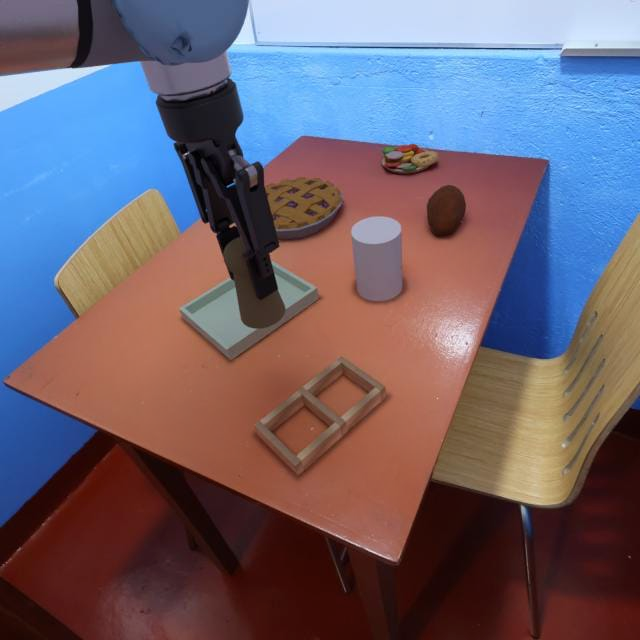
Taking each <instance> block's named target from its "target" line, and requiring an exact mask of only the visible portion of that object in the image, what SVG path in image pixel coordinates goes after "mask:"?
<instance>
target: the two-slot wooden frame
mask: <svg viewBox="0 0 640 640" xmlns="http://www.w3.org/2000/svg"><path fill="white" fill-rule="evenodd" d="M342 375H344V376H346V377H347V378H349V380H351V381H353V383H355V384H357V385H358V386H359V387H361V388H362V389H363V390H365V391H367V392H368V393H367V394H365V396H363V397H362V398H361V399H360V400H359V401H358V402H356V403H355V404H354V405H353V406H351V408H349V409H348V411H346V412H345V413H344V414H342V415H341V417H340V416H339V415H338V414H337V413H336V412H334V411H333V410H332V409H331V408H330V407H328V406H327V405H326V404H324V403H323V402H322V401H321V400H319V399H318V398H317V397H316V396H317V395H319V394H320V393H321V392H323V390H325V389H326V388H327V387H329V386H330V385H331V384H332V383H333V382H335V381H336V380H337V379H339V377H341V376H342ZM386 398H387V389H386V385H384V384H383V383H381V382H380V381H378V380H377V379H376V378H374V377H373V376H371V375H370V374H368V373H367V372H366V371H364V370H362V369H361V368H360V367H358V366H357V365H355V364H354V363H352V362H351V361H350V360H349V359H347V358H346V357H344V356H343V355H341V356H339V357H338V358H336V360H334V361H333V362H331V364H329V365H328V366H326V368H324V369H323V370H321V371H320V372H319V373H318V374H316V376H314V377H313V378H312V379H310V380H309V381H308V382H307V383H306V384H303V386H301V387H300V388H298V390H297V391H295V392H294V393H293V394H291V395H290V396H289V397H288V398H286V399H284V400H283V401H282V402H281V403H280V404H279V405H278V406H276V407H275V408H274V409H273V410H271V411H270V412H269V413H267V414H266V415H264V417H263V418H261V419H259V420H258V421H257V422H256V423H255V424H254V425H253V427H254V429H255V432H256V435H257V436H258V437H259V438H260V440H262V441H263V442H264V443H265V445H267V446H268V448H269V449H270V450H272V451H273V452H274V453H275V454H276V456H278V457H279V458H280V459H281V460H282V461H283V462H284V463H285V465H287V466H288V467H289V468H290V469H291V470H292V471H293V472H294V473H295V474H296V475H297V476H298V477H299V476H300V475H301V474H302V473H303V472H304V471H306V470H307V469H308V468H309V467H310V466H311V465H312V464H314V463H315V462H316V461H317V460H318V459H320V457H321V456H323V455H324V454H325V453H326V452H327V451H328V450H330V449H331V447H333V446H334V445H335V444H336V443H337V442H339V440H340V439H342V438H343V437H344V436H345V435H346V434H347V433H348V432H349V431H351V429H353V428H354V427H355V426H356V425H357V424H359V423H360V421H362V419H364V418H365V417H366V416H367V415H368V414H369V413H370V412H372V411H373V410H374V409H375V408H376V407H377V406H379V404H381V403H382V402H383V401H384V400H385V399H386ZM304 406H305V407H306V408H307V409H309V410H310V411H311V412H312V413H313V414H315V416H316V417H318V418H319V419H321V420H322V421H323V422H324V423H325V424H326V425H327V426H328V428H326V429H325V430H324V431H322V433H321V434H319V435H318V436H317V437H316V438H315V439H314V440H312V442H310V443H309V444H308V445H306V447H305V448H303V449H302V450H301V451H300V452H299V453H298V454H297V455H296V454H295V453H294V452H293V451H292V450H290V448H289V447H287V446H286V445H285V444H284V443H283V442H282V441H281V440H280V439H279V438H278V437H277V436H276V435H275V434H274V433H273V431H275V430H276V429H277V428H279V426H281V425H282V424H283V423H284V422H286V421H287V420H288V419H290V418H291V417H292V416H293V415H294V414H296V413H297V412H298V411H299V410H300V409H302V408H303V407H304Z"/></svg>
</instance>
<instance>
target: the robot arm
mask: <svg viewBox="0 0 640 640" xmlns="http://www.w3.org/2000/svg"><path fill="white" fill-rule="evenodd" d="M249 3H250V0H0V77H8V76H13V75H14V76H15V75H16V76H17V75H24V74H32V73H40V72H48V71H49V72H50V71H56V70H64V69H74V70H75V69H85V68H93V67H102V66H111V65H119V64H128V63H135V62H137V63H138V62H139V64H140V66H141V69H142V72H143V74H144V77H145V80H146V82H147V86H148V88H149V91H150V92H152V93H153V94H155V95H157V97H156V99H155V106H156V108H157V110H158V111H157V112H158V113H159V116H160V119H161V121H162V124H163V128H164V130H165V133H166V135H167V137H168V138H169V139H170V140H172V141H174V142H173V149H174V150H175V152H176V154H177V157H178V158H179V160H180V162H181V165H182V167H183V170H184V173H185V177H186V179H187V183H188V185H189V188H190V190H191V193H192V196H193V199H194V202H195V205H196V208H197V210H198V214H199V217H200V219H201V222H202V223H203V224H205V225H207V224H208V223H209V229H210V230H211V232H212V233H213V234H216V235H215V237H216V240H217V243H218V246H219V250H220V253H221V255H222V258H223V259H224V255H223V252H224V249H225V247H226V245H227V244H228V243H229V242H231V241H232V240H234V239H236V238H238V237H241V238H242V240H243V243H244V245H245V247H246V250H247V252H246V253H244V254H242V256H243V258H244V259H245V260H246V263H247V266H248V270H249V273H250V276H251V280H252V283H253V286H254V289H255V293H256V296H257V298H258V299H259V300H262V299H264V298H265V297H267V296H269V295H270V294H272V293H273V292H275V291H276V290H278V286H277V282H276V278H275V274H274V270H273V267H272V263H271V261H272V259H271V256H270V254H271V253H273V252H275V251H276V250H277V249H279V248H280V242H279V238H278V237H277V233H276V229H275V225H274V221H273V217H272V213H271V210H270V206H269V202H268V198H267V194H266V190H265V189H266V186H265V169H264V166H263V164H262V163H261V162H260V161H258V160H257V161H255V162H252V163H250V162H248V160H246V159H245V158H244V153H243V149H242V147H241V145H240V144H239V141H238V139H237V136H236V134H237V131H238V129H239V127H241V125H242V124H243V121H244V118H245V117H244V111H243V107H242V102H241V99H240V95H239V92H238V87H237V83H236V82H235V81H234V80H233V79H232V78H230V77H231V75H232V73H233V69H232V66H231V65H232V64H231V61H230V58H229V54H228V49H230V48H231V46H232V45H233V44H234V43H235V42H236V40H237V39H238V37H239V35H240V33H241V31H242V29H243V27H244V25H245V21H246V19H247V15H248V9H249ZM234 224H235V225H234ZM232 225H233V226H232ZM225 267H226V269H227V270H226V271H227V272H228V275H229V278H231V279H232V280H233V281H234V276H233V273H232V272H231V271H230V270H229V269H228V268H227V266H226V265H225Z"/></svg>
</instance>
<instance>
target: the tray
mask: <svg viewBox="0 0 640 640" xmlns="http://www.w3.org/2000/svg"><path fill="white" fill-rule="evenodd" d="M271 263H272V267H273V270H274V274H275V278H276V282H277V286H278V291H279V293H280V296H281V298H282V300H283V302H284V305H285V309H286V311H285V314H284V316H283V317H282V319H281V320H280V321H278V322H277V323H276V324H274V325H272V326H270V327H266V328H262V329H254V328H250V327H247V326H246V325H244V324H243V322H242V321H241V317H240V311H239V305H238V299H237V294H236V288H235V282H234V281H233V280H232V279H231V278H230V277H228V278H227V279H225V280H223V281H222V282H220V283H218V284H217V285H215V286H213V287H212V288H210V289H208V290H207V291H205V292H204V293H201V294H200V295H198V296H197V297H195V298H194V299H192V300H190V301H188V302H187V303H185V304H184V305H182V306H180V307H179V308H178V309H179V313H180V314H181V316H182V319H183V321H185V322H187V324H189V325H190V326H191V327H192V328H193V329H194V330H195V331H197V333H198V334H200V335H201V336H202V337H204V339H206V340H207V341H208V342H209V343H210V344H211V345H212V346H213V347H215V348H216V350H218V351H219V352H221V354H223V355H224V357H226V358H227V359H228V360H229V361H232V360H234V359H236V358H237V357H238V356H239V355H241V354H242V353H244V352H245V351H247V350H248V349H250V348H251V347H252V346H254V345H255V344H257V343H258V342H260V341H261V340H262V339H264V338H265V337H266V336H268V335H270V334H271V333H272V332H274V331H275V330H276V329H278V328H279V327H281V326H282V325H284V324H285V323H287V322H289V320H291V319H292V318H294V317H295V316H296V315H298V314H299V313H301V312H303V311H304V310H305V309H306V308H308V307H309V306H311V305H312V304H314V303H315V302H317V301H318V300H320V296H319V291H318V290H319V289H318V287H317V286H315V285H313V284H312V283H310V282H308V281H307V280H305V279H303V278H301V277H300V276H298V275H296V274H295V273H294V272H291V271H290V270H288V269H286V268H285V267H283V266H282V265H280V264H279V263H277V262H275V261H273V260H271Z"/></svg>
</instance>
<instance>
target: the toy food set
mask: <svg viewBox="0 0 640 640" xmlns="http://www.w3.org/2000/svg"><path fill="white" fill-rule="evenodd" d="M381 152H382V154H383V155H384V156H383V158H382V159H381V164H382V166H383V167H384V168H385V169H386V170H387V171H389V172H391V173H394V174H401V175H408V174H409V175H411V174H415V173H419V172H422V171H424V170H426V169H427V168H429V167H430V166H431V165H433V164H435V163H436V162H438V161H439V159H440V157H439V156H440V155H439V154H438V152H437V151H434V150H427V149H424V148H420V147H419V146H418V145H417V144H416V143H410V144H401V145H399V146H396V147H395V146H385V147H383V148H382V149H381Z"/></svg>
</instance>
